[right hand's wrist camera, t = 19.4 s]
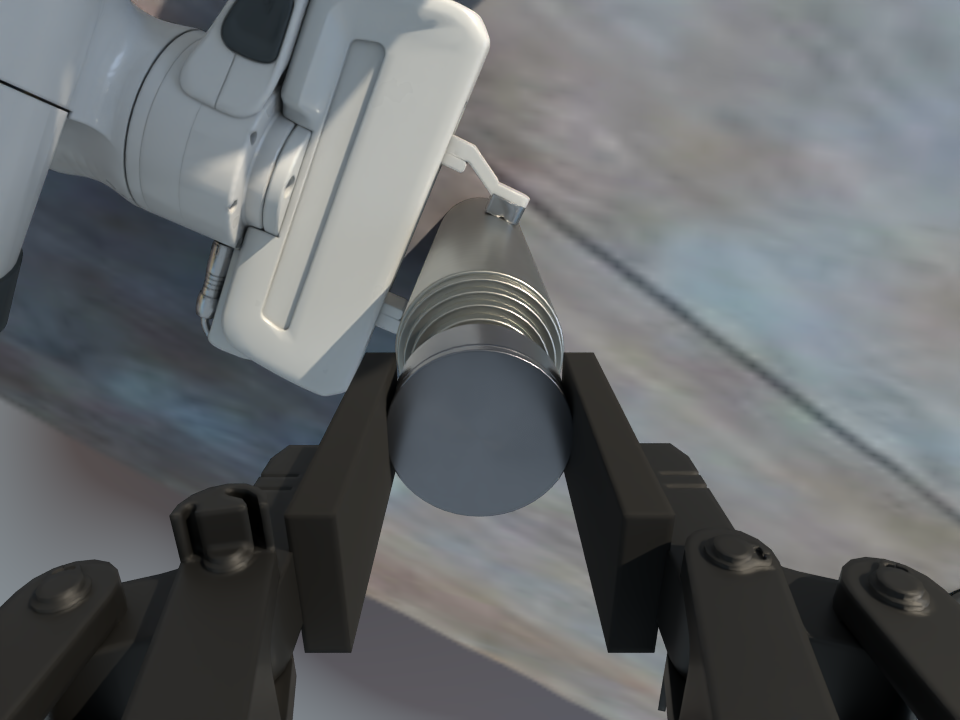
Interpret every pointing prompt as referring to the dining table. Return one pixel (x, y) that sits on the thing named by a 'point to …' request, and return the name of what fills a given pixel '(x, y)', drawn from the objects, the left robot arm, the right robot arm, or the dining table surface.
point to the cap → (479, 421)
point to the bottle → (479, 284)
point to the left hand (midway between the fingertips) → (495, 269)
